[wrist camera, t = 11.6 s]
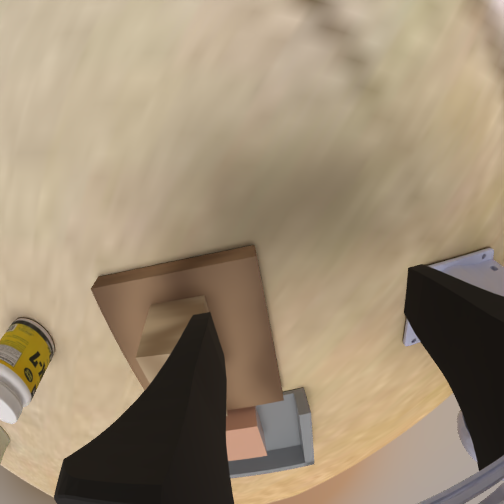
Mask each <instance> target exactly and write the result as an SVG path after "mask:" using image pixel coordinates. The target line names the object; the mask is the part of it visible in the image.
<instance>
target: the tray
mask: <svg viewBox="0 0 504 504" xmlns="http://www.w3.org/2000/svg"><path fill="white" fill-rule="evenodd" d="M283 398H284V401H279V402H274V403H268V404H263V405H257V406H256V408H257V412H258V415H259V418H260V421H261V425H262V428H263V431H264V437H265V443H266V450H267V456H262V457H256V458H249V459H242V460H234V461H228V464H229V472H230V478H237V477H245V476H253V475H260V474H266V473H272V472H278V471H284V470H289V469H294V468H299V467H303V466H308V465H312V464H314V451H313V435H312V422H311V412H310V408H309V404H308V401H307V397H306V394H305V390H304V388H299V389H295V390H290V391H286V392H283Z"/></svg>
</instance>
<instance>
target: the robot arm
mask: <svg viewBox="0 0 504 504" xmlns="http://www.w3.org/2000/svg"><path fill="white" fill-rule="evenodd" d="M493 256H494V250H493V249H492V248H487V249H483V250H480V251H477V252H474V253H470V254H467V255H464V256H460V257H457V258H453V259H450V260H446V261H443V262H439V263H436V264H432V265H429V266H425V265H422V264H421V265H417V266H414V267H410V268H408V279H407V289H406V299H405V308H404V314H405V316H406V317H407V319H406V326H405V333H404V339H403V343H404V345H405V346H410V345H413V344H416V343H418V342H421V343H422V344H423V346H424V347H425V349H426V350H427V351H428V353H429V354H430V356H431V357H432V359H433V360H434V361H435V363H436V364H437V366H438V367H439V369H440V370H441V372H442V373H443V375H444V376H445V378H446V380H447V381H448V383H449V385H450V387H451V389H452V391H453V393H454V395H455V397H456V399H457V402H458V404H459V406H460V409H461V410H460V411H459V413H458V416H457V423H458V434H459V437H460V440H461V442H462V444H463V446H464V448H465V449H466V451H467V452H468V453H469V455H470V456H471V457H472V458H473V459H474V460H475V461H476V462H477V463H478V468H479V472H477V473H476V474H474V475H472V476H470V477H469V478H467V479H465V480H463V481H462V482H460V483H458V484H456V485H454V486H452V487H451V488H449V489H447V490H445V491H443V492H441V493H439V494H437V495H435V496H433V497H431V498H428V499H426V500H424V501H422V502H420V503H418V504H464V503H466V502H468V501H469V500H471V499H473V498H475V497H476V496H478V495H479V494H481V493H483V492H484V491H486V490H487V489H489V488H491V487H492V486H494V485H495V484H497V483H498V482H499V481H501V480H503V481H504V267H503V266H502V265H500V264H499V263H498V262H496V261H495V260H494V259H493ZM226 399H227V377H226V367H225V358H224V353H223V350H222V347H221V344H220V341H219V338H218V334H217V331H216V328H215V325H214V322H213V319H212V316H211V312H207V313H201V314H195V315H193V316H192V317H191V319H190V320H189V322H188V324H187V326H186V328H185V330H184V331H183V333H182V335H181V337H180V339H179V340H178V342H177V344H176V345H175V347H174V349H173V350H172V352H171V354H170V355H169V357H168V359H167V360H166V362H165V363H164V365H163V366H162V368H161V369H160V371H159V372H158V374H157V375H156V376H155V378H154V379H153V381H152V382H151V383H150V385H149V386H148V387H147V388H146V390H145V391H144V392H143V393H142V394H141V396H140V397H139V398H138V399H137V400H136V401H135V402H134V403H133V404H132V405H131V406H130V407H129V408H128V409H127V410H126V411H125V412H124V413H123V414H122V415H121V416H120V417H119V418H118V419H117V420H116V421H115V422H114V423H113V424H112V425H111V426H110V427H108V428H107V429H106V430H105V431H104V432H102V433H101V434H100V435H99V436H97V437H96V438H95V439H93V440H92V441H91V442H89V443H88V444H87V445H85V446H84V447H82V448H81V449H79V450H78V451H76V452H75V453H73V454H72V455H70V456H68V457H67V458H65V459H64V460H63V463H62V467H61V471H60V475H59V478H58V482H57V486H56V490H55V495H54V499H55V501H56V503H57V504H234V500H233V494H232V487H231V480H230V472H229V464H228V455H227V446H226ZM479 504H504V483H503V484H501V485H500V486H499V487H498V488H497V489H496V490H495V491H494V492H493V493H492V494H490V495H489V496H488V497H487V498H485V499H484V500H483V501H481V502H480V503H479Z"/></svg>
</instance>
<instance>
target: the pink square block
mask: <svg viewBox="0 0 504 504" xmlns="http://www.w3.org/2000/svg"><path fill="white" fill-rule="evenodd" d="M226 446H227V455H228V461H234V460H242V459H249V458H256V457H262V456H267V450H266V443H265V437H264V431H263V428H262V425H261V421H260V418H259V415H258V412H257V408H256V406H252V407H246V408H239V409H233V410H227V416H226Z"/></svg>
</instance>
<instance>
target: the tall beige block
mask: <svg viewBox="0 0 504 504" xmlns="http://www.w3.org/2000/svg"><path fill="white" fill-rule="evenodd" d="M207 312H209V309H208V306H207V302H206V299H205V296H204V295H203V296H198V297H192V298H186V299H180V300H175V301H169V302H163V303H157V304H151V306H150V309H149V312H148V316H147V319H146V323H145V326H144V329H143V333H142V336H141V340H140V343H139V347H138V351H137V354H136V359H137V361H138V363H139V365H140V367H141V369H142V371H143V372H144V374H145V376H146V378H147V380H148V381H149V383H151V382H152V381H153V379H154V378H155V376H156V375H157V374H158V372H159V371H160V369H161V368H162V366H163V365H164V363H165V362H166V360H167V359H168V357H169V355H170V354H171V352H172V350H173V349H174V347H175V345H176V344H177V342H178V340H179V339H180V337H181V335H182V333H183V331H184V330H185V328H186V326H187V324H188V322H189V320H190V319H191V317H192V316H193V315H195V314H201V313H207ZM226 416H227V399H226Z"/></svg>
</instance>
